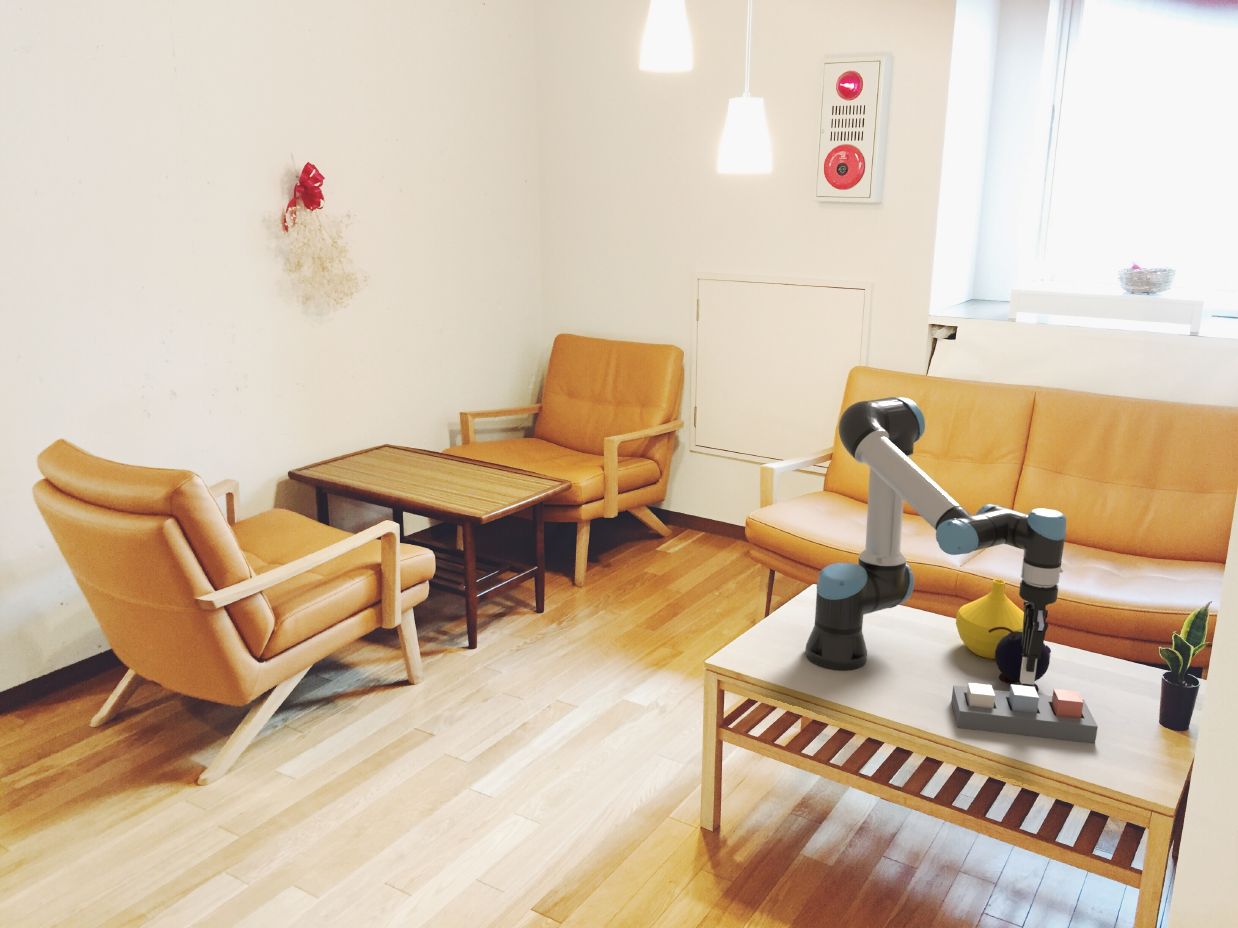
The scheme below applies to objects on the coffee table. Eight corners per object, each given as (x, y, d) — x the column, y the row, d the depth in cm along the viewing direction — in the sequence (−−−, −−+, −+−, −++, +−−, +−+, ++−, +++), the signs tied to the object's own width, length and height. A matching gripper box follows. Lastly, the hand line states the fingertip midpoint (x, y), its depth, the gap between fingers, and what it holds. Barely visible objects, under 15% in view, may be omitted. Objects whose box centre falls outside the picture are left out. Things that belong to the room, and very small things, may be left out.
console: (957, 727, 214) (959, 710, 213) (951, 700, 226) (953, 685, 225) (1095, 743, 209) (1097, 726, 208) (1081, 715, 220) (1083, 699, 219)
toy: (1056, 693, 230) (1065, 634, 226) (1007, 700, 226) (1015, 640, 222) (1022, 670, 241) (1030, 613, 237) (975, 676, 238) (982, 619, 234)
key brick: (1056, 715, 213) (1058, 699, 212) (1051, 704, 217) (1053, 688, 216) (1080, 718, 212) (1083, 702, 211) (1075, 707, 216) (1077, 691, 215)
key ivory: (969, 708, 216) (971, 692, 215) (966, 698, 221) (968, 682, 220) (992, 711, 215) (995, 695, 214) (989, 700, 220) (991, 684, 219)
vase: (1035, 646, 254) (1044, 578, 249) (1020, 674, 239) (1030, 601, 234) (962, 629, 264) (970, 563, 259) (944, 654, 249) (952, 584, 244)
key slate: (1012, 710, 214) (1014, 694, 213) (1008, 699, 219) (1010, 684, 218) (1036, 713, 213) (1039, 697, 212) (1032, 702, 218) (1034, 686, 217)
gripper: (1065, 594, 202) (1051, 698, 208) (1051, 572, 214) (1038, 670, 220) (1026, 591, 203) (1013, 694, 209) (1015, 569, 215) (1003, 667, 221)
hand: (1026, 682), depth 214 cm, fingers closed
